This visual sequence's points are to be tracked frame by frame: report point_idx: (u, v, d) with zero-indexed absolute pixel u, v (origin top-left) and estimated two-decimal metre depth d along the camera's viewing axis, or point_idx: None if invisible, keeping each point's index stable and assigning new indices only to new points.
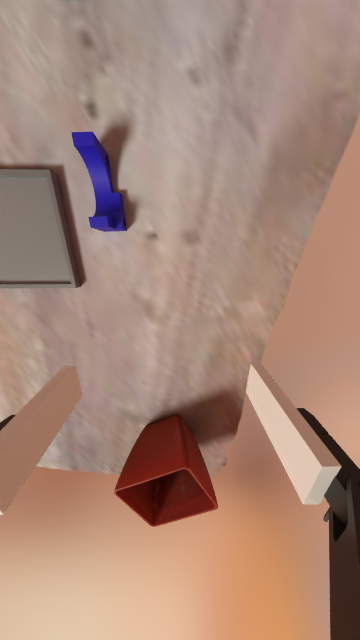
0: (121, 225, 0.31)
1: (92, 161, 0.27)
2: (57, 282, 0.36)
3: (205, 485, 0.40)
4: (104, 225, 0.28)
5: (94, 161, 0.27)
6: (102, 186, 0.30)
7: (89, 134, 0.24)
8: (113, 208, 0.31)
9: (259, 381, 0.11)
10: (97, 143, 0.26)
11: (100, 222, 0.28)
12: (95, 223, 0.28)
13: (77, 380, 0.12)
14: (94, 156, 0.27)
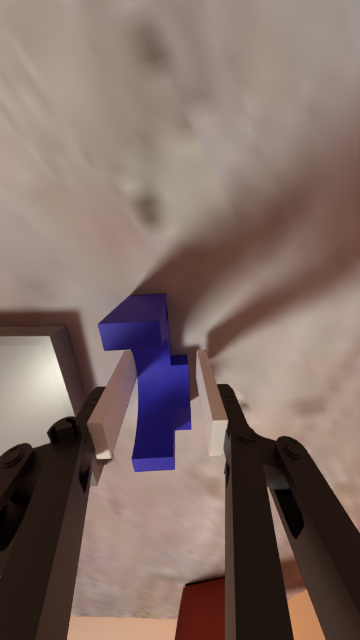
0: (189, 424, 0.15)
1: None
2: None
3: None
4: (166, 468, 0.12)
5: None
6: (153, 358, 0.14)
7: (150, 326, 0.08)
8: (175, 396, 0.15)
9: (199, 364, 0.13)
10: (162, 321, 0.10)
11: (157, 465, 0.12)
12: (146, 466, 0.12)
13: (134, 363, 0.14)
14: None
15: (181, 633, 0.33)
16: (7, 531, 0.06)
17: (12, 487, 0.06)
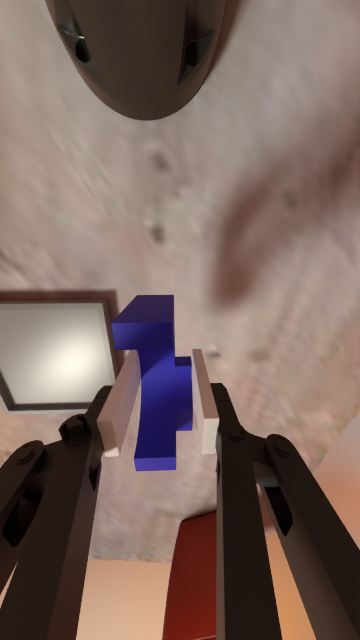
0: (190, 425, 0.15)
1: None
2: None
3: None
4: (167, 468, 0.13)
5: None
6: (158, 358, 0.14)
7: (163, 328, 0.08)
8: (177, 397, 0.15)
9: (193, 363, 0.13)
10: None
11: (159, 465, 0.12)
12: (147, 466, 0.12)
13: None
14: None
15: (178, 550, 0.43)
16: (19, 527, 0.06)
17: (24, 484, 0.06)
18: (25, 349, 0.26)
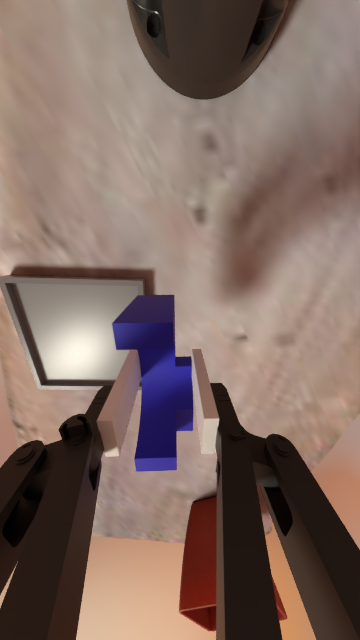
0: (191, 425, 0.15)
1: None
2: None
3: (277, 599, 0.36)
4: (168, 469, 0.13)
5: None
6: (158, 358, 0.14)
7: (164, 328, 0.08)
8: (178, 397, 0.15)
9: (193, 363, 0.13)
10: None
11: (160, 465, 0.12)
12: (148, 466, 0.12)
13: None
14: None
15: (191, 527, 0.45)
16: (19, 527, 0.06)
17: (24, 484, 0.06)
18: (62, 325, 0.27)
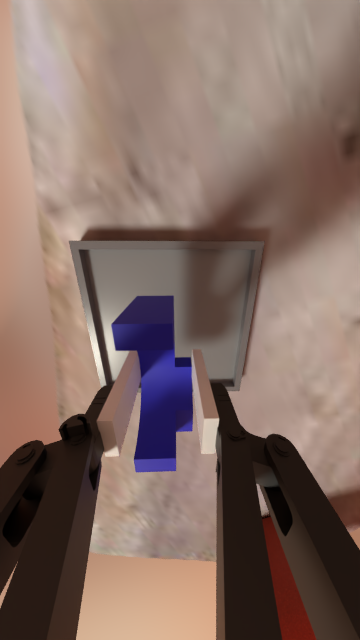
0: (190, 426, 0.15)
1: None
2: (209, 381, 0.25)
3: None
4: (167, 470, 0.13)
5: None
6: (158, 358, 0.14)
7: (163, 329, 0.08)
8: (177, 397, 0.15)
9: (193, 363, 0.13)
10: None
11: (159, 466, 0.12)
12: (147, 467, 0.12)
13: (139, 362, 0.14)
14: None
15: None
16: (19, 527, 0.06)
17: (24, 484, 0.06)
18: None
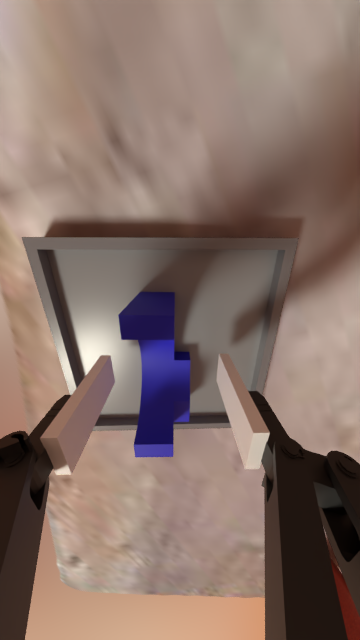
0: (187, 416, 0.16)
1: None
2: (217, 414, 0.20)
3: None
4: (165, 455, 0.13)
5: None
6: (158, 351, 0.15)
7: (165, 320, 0.09)
8: (176, 389, 0.16)
9: (223, 369, 0.12)
10: None
11: (157, 451, 0.13)
12: (146, 452, 0.13)
13: (111, 368, 0.14)
14: None
15: None
16: None
17: None
18: None
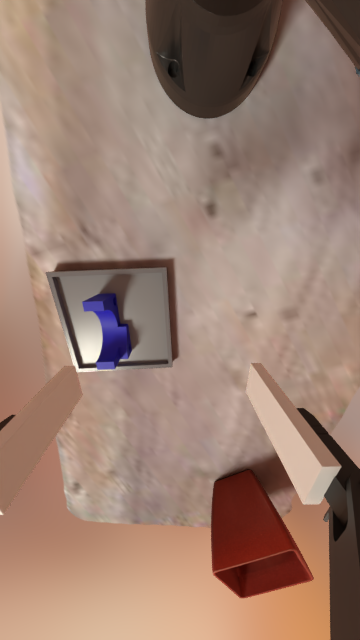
0: (127, 356, 0.32)
1: (100, 311, 0.28)
2: (152, 361, 0.36)
3: (303, 559, 0.39)
4: (111, 368, 0.29)
5: (102, 311, 0.28)
6: (109, 322, 0.31)
7: (99, 303, 0.25)
8: (119, 341, 0.31)
9: (259, 381, 0.11)
10: (106, 302, 0.26)
11: (107, 366, 0.29)
12: (102, 366, 0.29)
13: (77, 380, 0.12)
14: None
15: (216, 502, 0.47)
16: None
17: None
18: None
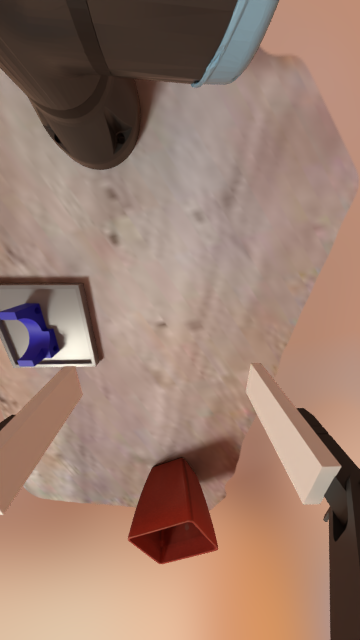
0: (50, 356, 0.38)
1: (21, 319, 0.34)
2: (79, 360, 0.42)
3: (207, 531, 0.46)
4: (30, 365, 0.35)
5: (22, 318, 0.34)
6: (33, 327, 0.37)
7: (12, 313, 0.31)
8: (43, 343, 0.37)
9: (259, 381, 0.11)
10: (22, 313, 0.32)
11: (27, 363, 0.35)
12: (23, 364, 0.35)
13: (77, 380, 0.12)
14: None
15: (147, 484, 0.55)
16: None
17: None
18: None
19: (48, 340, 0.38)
